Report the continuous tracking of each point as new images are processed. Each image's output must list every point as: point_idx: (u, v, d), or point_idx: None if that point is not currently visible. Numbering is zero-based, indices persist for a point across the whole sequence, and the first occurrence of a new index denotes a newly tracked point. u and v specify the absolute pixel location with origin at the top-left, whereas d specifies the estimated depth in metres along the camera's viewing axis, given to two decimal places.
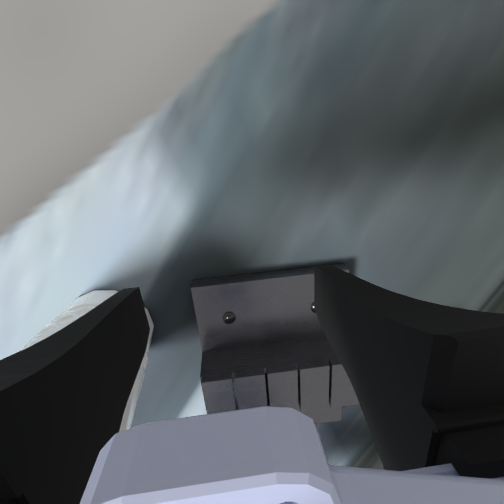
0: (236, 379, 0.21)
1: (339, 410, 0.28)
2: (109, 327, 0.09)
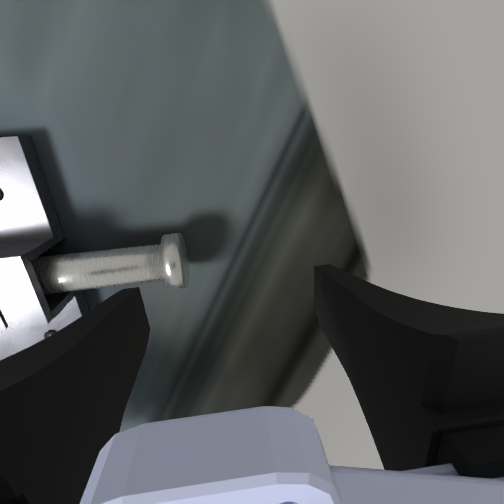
0: None
1: None
2: (110, 327, 0.09)
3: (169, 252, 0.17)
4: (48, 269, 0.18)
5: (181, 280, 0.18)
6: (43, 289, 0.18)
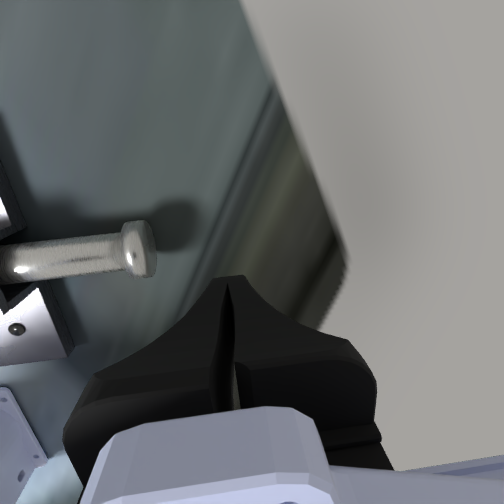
0: None
1: (57, 343, 0.21)
2: (224, 312, 0.09)
3: (129, 239, 0.17)
4: (3, 258, 0.17)
5: (143, 269, 0.17)
6: None
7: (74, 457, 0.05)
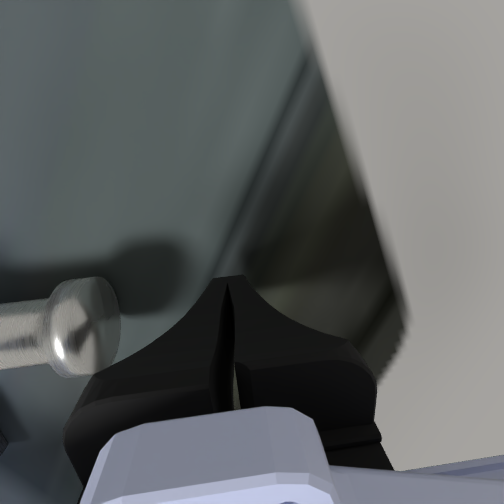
0: None
1: None
2: (224, 313, 0.09)
3: (59, 321, 0.09)
4: None
5: (87, 368, 0.10)
6: None
7: (74, 457, 0.05)
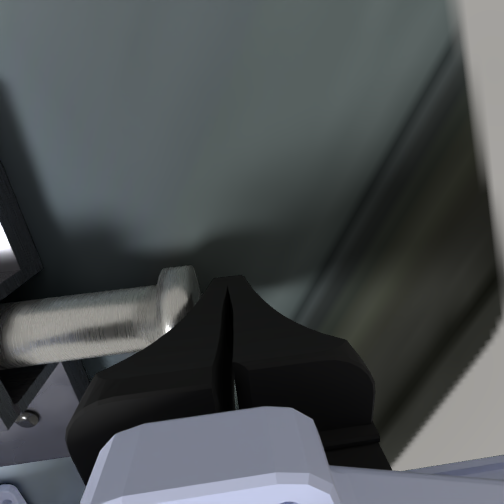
0: None
1: None
2: (225, 312, 0.09)
3: (172, 307, 0.10)
4: None
5: None
6: None
7: (76, 457, 0.05)
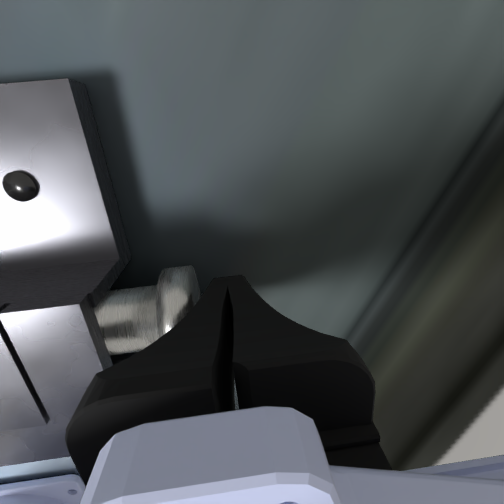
0: None
1: None
2: (225, 312, 0.09)
3: (172, 307, 0.10)
4: None
5: None
6: None
7: (76, 457, 0.05)
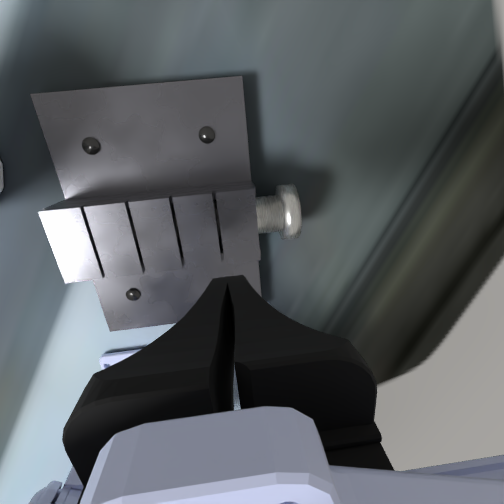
0: (86, 208, 0.16)
1: None
2: (224, 312, 0.09)
3: (291, 199, 0.18)
4: None
5: (300, 228, 0.18)
6: None
7: (74, 457, 0.05)
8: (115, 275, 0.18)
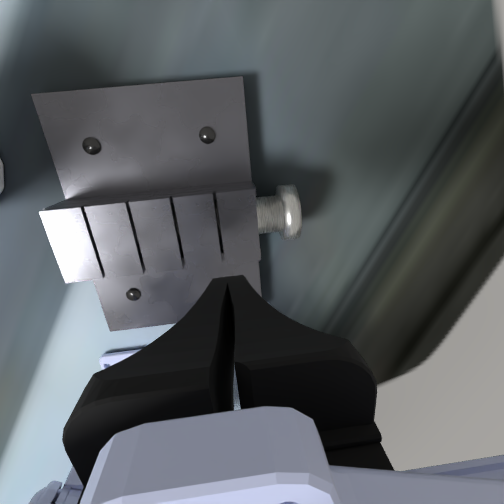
0: (87, 208, 0.16)
1: None
2: (224, 313, 0.09)
3: (291, 199, 0.18)
4: None
5: (300, 228, 0.18)
6: None
7: (74, 457, 0.05)
8: (115, 275, 0.18)
